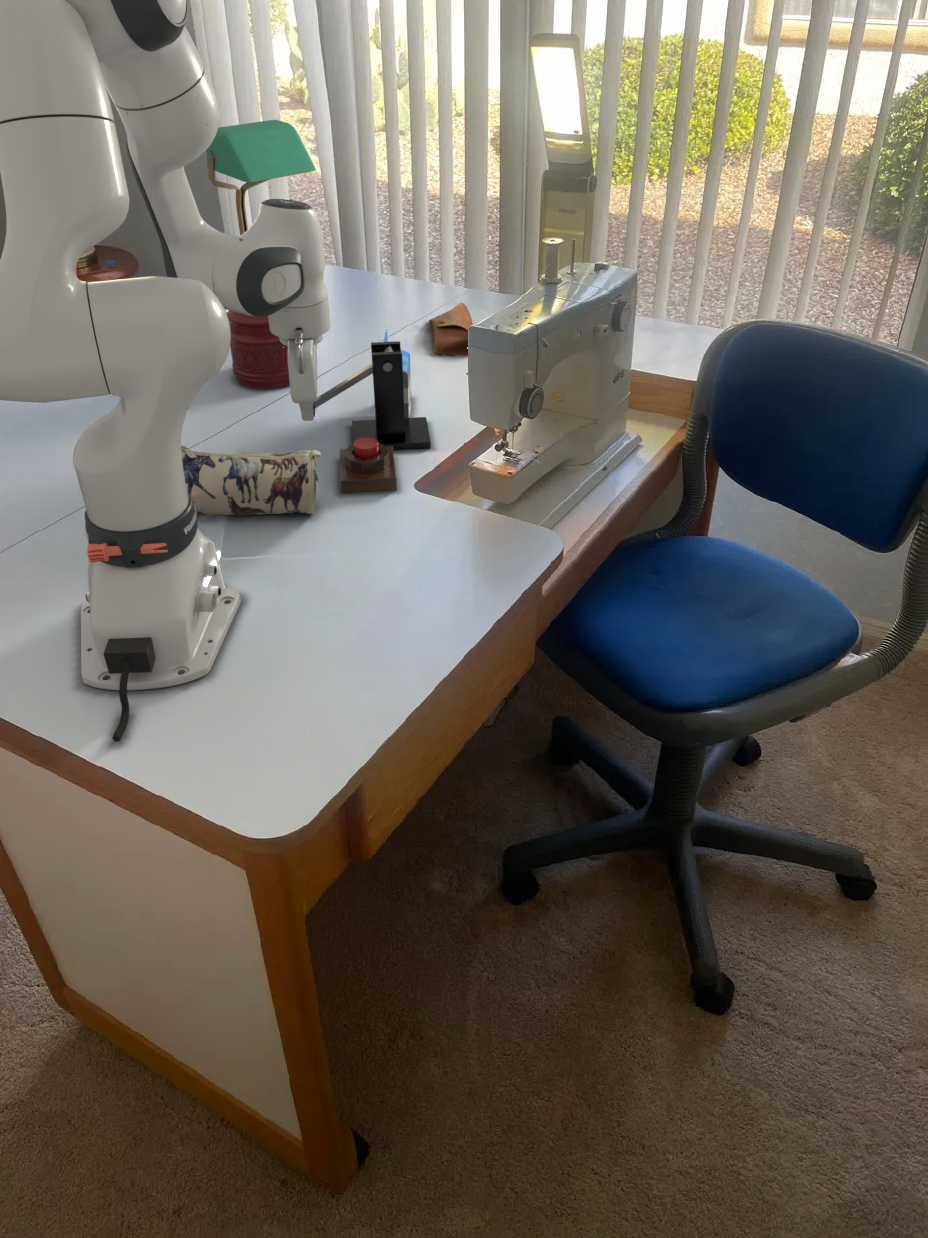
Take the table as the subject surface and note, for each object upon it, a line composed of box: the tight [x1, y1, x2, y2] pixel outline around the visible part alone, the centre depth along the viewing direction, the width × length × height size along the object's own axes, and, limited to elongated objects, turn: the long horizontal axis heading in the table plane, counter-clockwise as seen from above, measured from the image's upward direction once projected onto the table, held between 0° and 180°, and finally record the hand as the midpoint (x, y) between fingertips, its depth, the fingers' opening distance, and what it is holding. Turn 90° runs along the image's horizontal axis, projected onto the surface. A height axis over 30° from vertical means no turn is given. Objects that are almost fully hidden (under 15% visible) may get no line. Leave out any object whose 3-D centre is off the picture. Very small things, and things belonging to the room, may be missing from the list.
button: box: [354, 438, 379, 459], centre depth 141 cm, size 4×4×2 cm
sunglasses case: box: [428, 302, 474, 356], centre depth 187 cm, size 18×7×7 cm
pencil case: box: [181, 444, 322, 516], centre depth 133 cm, size 22×8×10 cm, turn 90°
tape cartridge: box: [383, 328, 412, 418], centre depth 158 cm, size 9×4×12 cm, turn 0°
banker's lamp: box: [205, 119, 317, 236], centre depth 187 cm, size 16×21×35 cm
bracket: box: [351, 340, 432, 452], centre depth 149 cm, size 12×9×15 cm
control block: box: [339, 443, 398, 495], centre depth 143 cm, size 10×8×4 cm
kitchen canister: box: [225, 309, 290, 390], centre depth 168 cm, size 13×13×18 cm
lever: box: [313, 346, 394, 417], centre depth 147 cm, size 16×5×2 cm, turn 95°
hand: (308, 405), depth 149 cm, fingers open, 8 cm apart
